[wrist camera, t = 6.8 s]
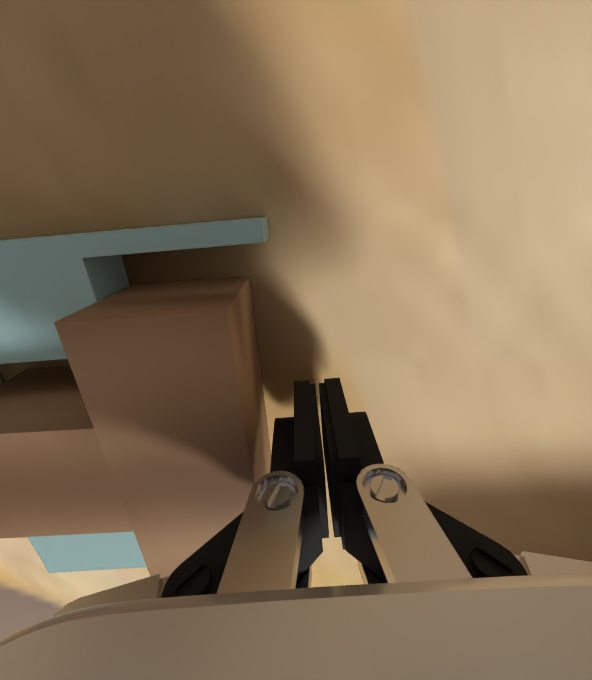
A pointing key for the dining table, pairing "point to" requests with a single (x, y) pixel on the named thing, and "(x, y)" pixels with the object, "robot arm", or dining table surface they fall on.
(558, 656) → the robot arm
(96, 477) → the block
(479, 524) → the dining table surface
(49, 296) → the dock
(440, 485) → the dining table surface
